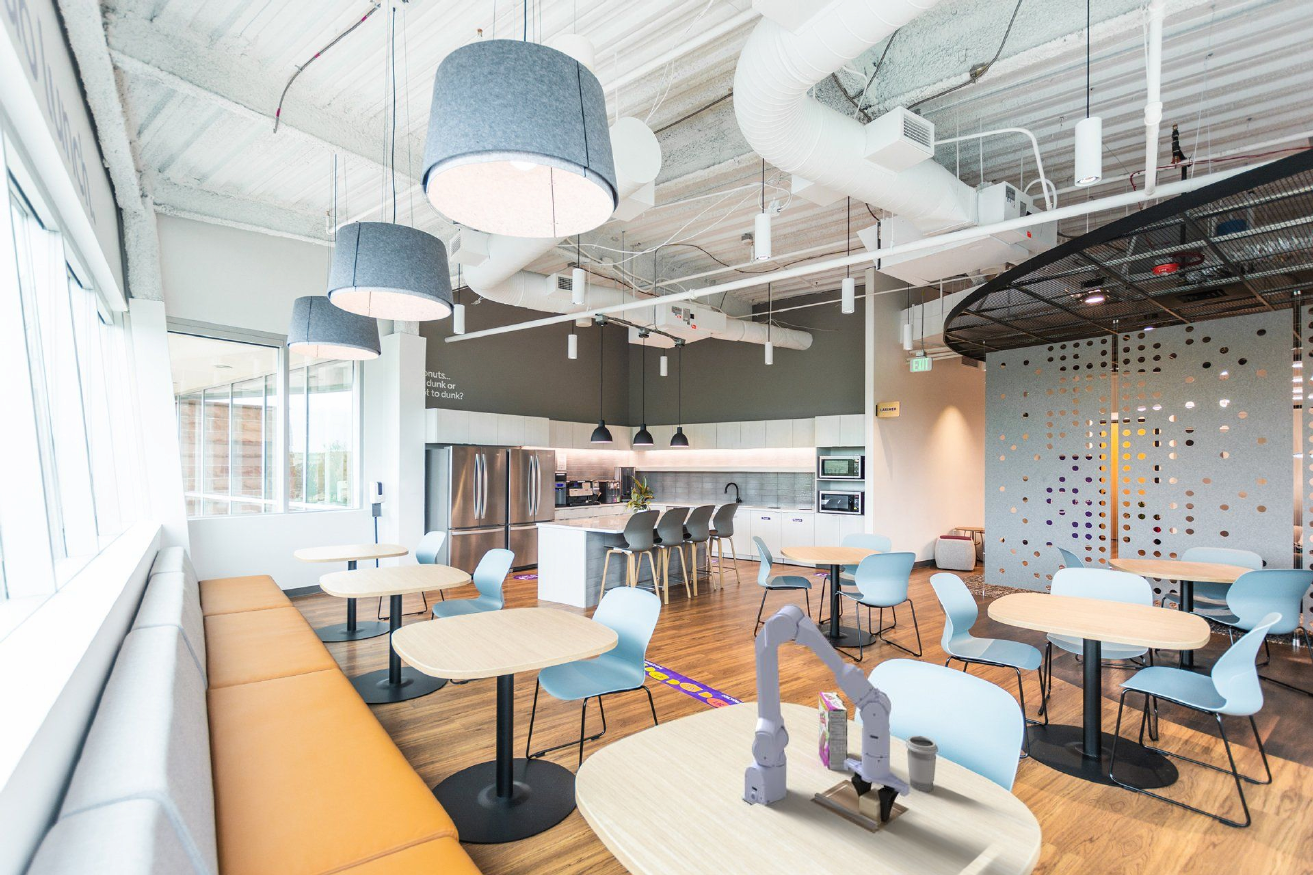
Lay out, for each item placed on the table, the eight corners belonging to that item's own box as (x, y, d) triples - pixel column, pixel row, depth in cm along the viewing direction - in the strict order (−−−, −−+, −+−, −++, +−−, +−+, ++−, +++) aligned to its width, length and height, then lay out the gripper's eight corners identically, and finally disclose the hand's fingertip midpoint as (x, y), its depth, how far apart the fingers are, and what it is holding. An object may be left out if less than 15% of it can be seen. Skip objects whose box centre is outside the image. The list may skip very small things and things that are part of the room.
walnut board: (873, 840, 135) (873, 827, 135) (809, 806, 148) (809, 794, 148) (909, 815, 144) (909, 803, 144) (845, 785, 157) (845, 774, 157)
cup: (935, 787, 156) (936, 736, 156) (939, 802, 150) (940, 749, 150) (903, 783, 158) (904, 733, 158) (906, 797, 152) (906, 745, 152)
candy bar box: (817, 754, 172) (817, 691, 172) (836, 754, 172) (837, 691, 172) (827, 776, 161) (828, 709, 161) (848, 776, 161) (848, 709, 161)
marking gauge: (876, 826, 138) (876, 804, 138) (859, 817, 141) (859, 796, 141) (902, 808, 145) (902, 787, 145) (885, 800, 148) (885, 780, 148)
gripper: (835, 744, 144) (835, 806, 144) (897, 770, 133) (896, 837, 133) (854, 735, 149) (853, 795, 149) (915, 759, 138) (914, 824, 138)
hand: (875, 814), depth 141 cm, fingers closed on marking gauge, 4 cm apart
